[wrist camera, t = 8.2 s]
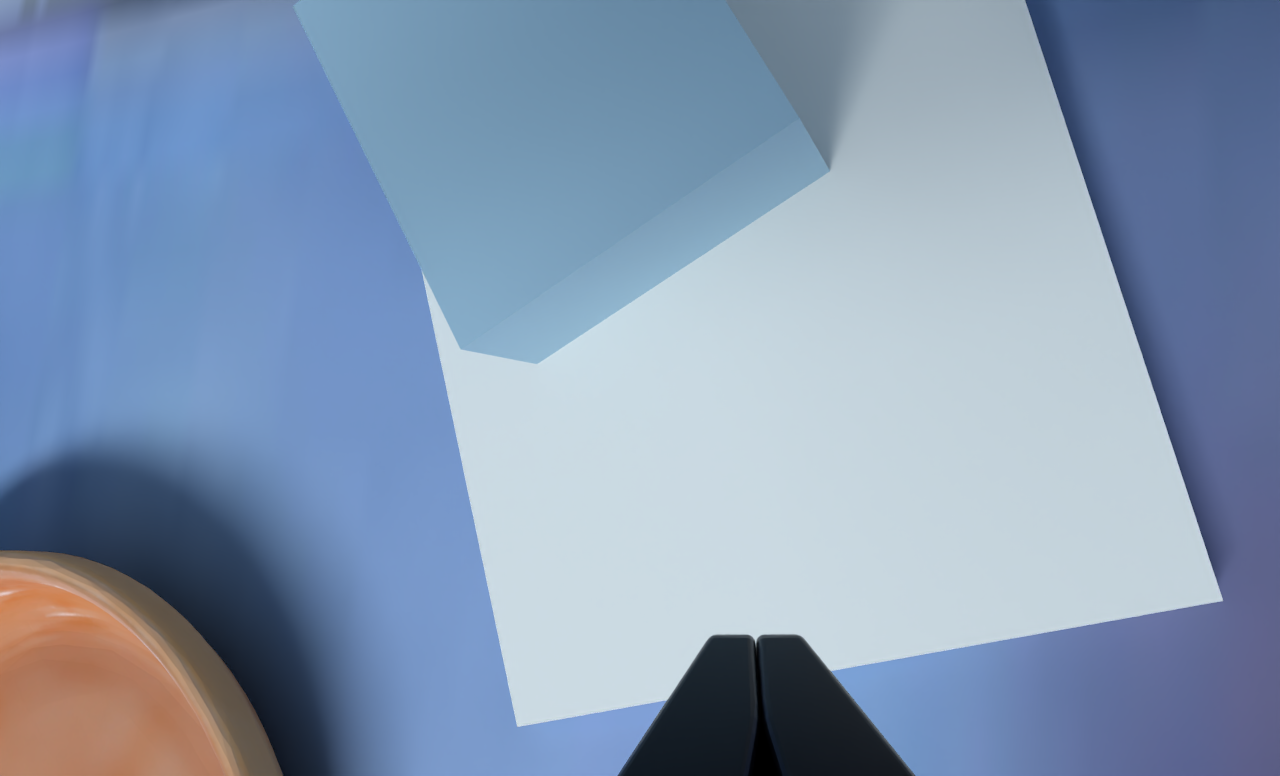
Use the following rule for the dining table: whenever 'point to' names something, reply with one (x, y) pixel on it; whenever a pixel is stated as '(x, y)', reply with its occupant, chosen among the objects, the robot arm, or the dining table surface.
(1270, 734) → the dining table surface
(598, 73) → the box
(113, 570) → the saucer
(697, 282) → the mat
